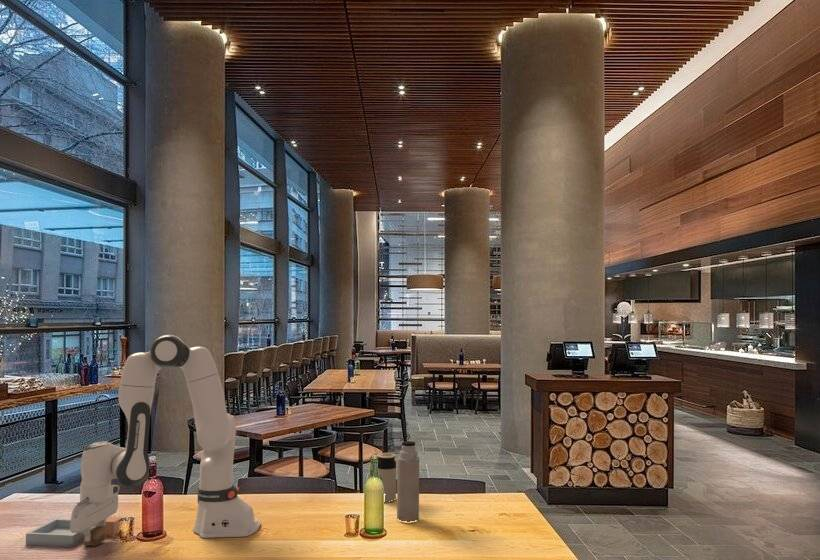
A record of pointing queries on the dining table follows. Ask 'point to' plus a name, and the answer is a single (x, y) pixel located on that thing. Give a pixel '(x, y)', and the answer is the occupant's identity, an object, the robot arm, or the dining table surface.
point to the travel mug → (388, 474)
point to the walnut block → (96, 535)
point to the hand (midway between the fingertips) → (94, 537)
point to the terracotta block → (112, 525)
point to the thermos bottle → (408, 483)
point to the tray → (54, 534)
